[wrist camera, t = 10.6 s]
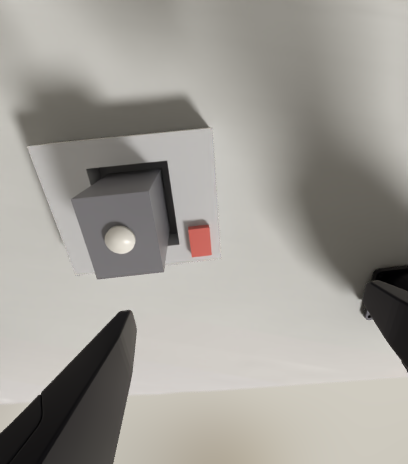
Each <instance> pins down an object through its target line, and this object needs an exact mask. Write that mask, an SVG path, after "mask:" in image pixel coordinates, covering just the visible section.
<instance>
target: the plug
mask: <svg viewBox="0 0 408 464" xmlns="http://www.w3.org/2000/svg"><path fill="white" fill-rule="evenodd" d="M71 202H72V205H73V208H74V211H75V214H76V217H77V220H78V223H79V226H80V229H81V232H82V235H83V238H84V241H85V244H86V247H87V250H88V253H89V256H90V259H91V262H92V265H93V268H94V271H95V274H96V277H97V279H106V278H115V277H124V276H133V275H141V274H150V273H159V272H164V268H165V261H166V254H167V247H168V240H169V233H170V221H169V215H168V208H167V202H166V196H165V189H164V183H163V177H162V170H161V168H157V169H147V170H137V171H127V172H117V173H109V174H108V175H106V176H105V177H103V178H102V179H100V180H99V181H97V182H96V183H94V184H93V185H91V186H90V187H88V188H87V189H85V190H84V191H82V192H81V193H79V194H78V195H76V196H75V197H73V198H72V199H71Z"/></svg>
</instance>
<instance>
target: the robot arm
mask: <svg viewBox="0 0 408 464" xmlns="http://www.w3.org/2000/svg"><path fill="white" fill-rule="evenodd" d="M362 301H363V304H364V306H365V310H364V314H363V316H364V317H365V318H366V319H367V320H372V319H373V320H374V322H375V323H376V325H377V327H378V328H379V330H380V331H381V333H382V335H383V336H384V338H385V339H386V341H387V342H388V343H389V345H390V346H391V348H392V349H393V350H394V351H395V353H396V354H397V355H398V357H399V358H400V359H401V362H402V364H403V365H404V367H405V368H406V369H407V372H408V266H401V267H392V268H384V269H378V270H376V271H375V272H374V274H373V278H372V281H369V282H367V283H366V285H365V289H364V293H363V297H362ZM136 333H137V328H136V324H135V320H134V316H133V313H132V311H131V310H126V311H120V312H119V313H118V314H117V315H116V316H115V317H114V318H113V319H112V320H111V321H110V322H109V323H108V324H107V325H106V326H105V327H104V328H103V329H102V330H101V331H100V332H99V333H98V334H97V335H96V336H95V337H94V339H93V340H92V341H91V342H90V343H89V344H88V345H87V346H86V347H85V348H84V349H83V350H82V351H81V352H80V353H79V354H78V355H77V356H76V357H75V358H74V359H73V360H72V361H71V362H70V363H69V364H68V365H67V366H66V367H65V369H64V370H63V371H62V372H61V373H60V374H59V375H58V376H57V377H56V378H55V379H54V380H53V381H52V382H51V383H50V384H49V385H48V386H47V387H46V388H45V389H44V390H43V391H42V393H41V395H38V396H37V397H36V398H35V399H34V400H33V401H32V403H31V404H30V405H29V406H28V407H27V408H26V409H25V410H24V411H23V412H22V413H21V414H20V415H19V416H18V417H17V418H16V419H15V420H14V421H13V422H12V423H11V424H10V425H9V426H8V427H7V428H6V429H4V430H3V432H1V433H0V464H113V462H114V457H115V452H116V447H117V443H118V438H119V434H120V429H121V424H122V420H123V415H124V410H125V406H126V401H127V396H128V392H129V387H130V382H131V377H132V371H133V362H134V353H135V343H136Z"/></svg>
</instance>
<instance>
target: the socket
mask: <svg viewBox="0 0 408 464" xmlns="http://www.w3.org/2000/svg"><path fill="white" fill-rule="evenodd" d="M27 148H28V151H29V154H30V156H31V159H32V162H33V164H34V167H35V170H36V172H37V175H38V178H39V180H40V183H41V185H42V188H43V191H44V193H45V196H46V199H47V201H48V204H49V207H50V209H51V212H52V215H53V217H54V220H55V222H56V225H57V228H58V230H59V233H60V236H61V238H62V241H63V244H64V246H65V249H66V252H67V254H68V257H69V260H70V262H71V265H72V267H73V270H74V273H75V275H85V274H93V273H95V271H94V268H93V265H92V262H91V259H90V256H89V253H88V250H87V247H86V244H85V241H84V238H83V235H82V232H81V229H80V226H79V223H78V220H77V217H76V214H75V211H74V208H73V205H72V202H71V199H72V198H73V197H75V196H76V195H78V194H79V193H81V192H82V191H84V190H85V189H87V188H88V187H90V186H91V185H93V184H94V183H96V182H97V181H99V180H100V179H102V178H103V177H105V176H106V175H108V174H109V173H117V172H127V171H137V170H147V169H157V168H161V170H162V177H163V183H164V189H165V196H166V202H167V208H168V215H169V221H170V233H169V240H168V247H167V254H166V261H165V265H172V264H181V263H189V262H198V261H207V260H216V259H221V245H220V230H219V215H218V200H217V185H216V171H215V156H214V141H213V128H210V127H207V128H197V129H187V130H177V131H167V132H156V133H146V134H136V135H126V136H116V137H106V138H96V139H86V140H75V141H65V142H55V143H46V144H39V145H32V146H27Z"/></svg>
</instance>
